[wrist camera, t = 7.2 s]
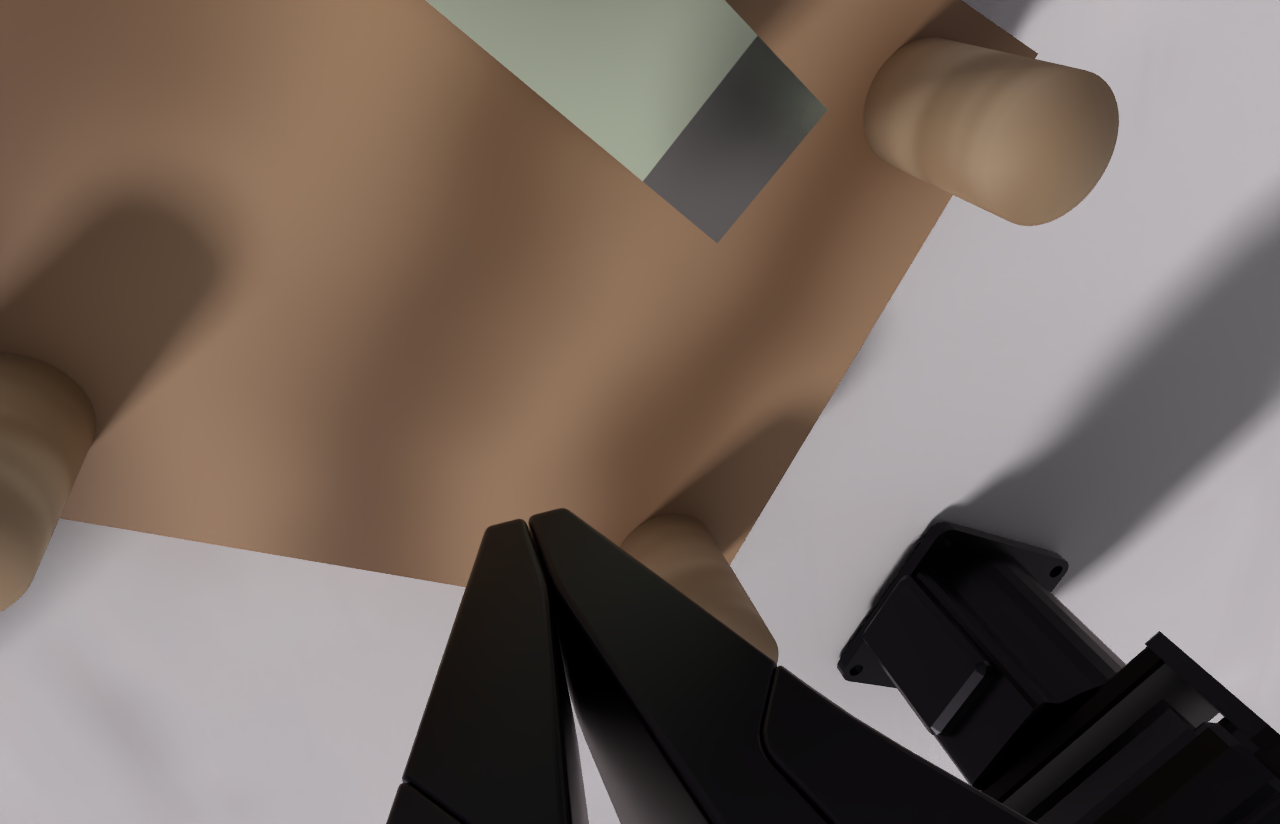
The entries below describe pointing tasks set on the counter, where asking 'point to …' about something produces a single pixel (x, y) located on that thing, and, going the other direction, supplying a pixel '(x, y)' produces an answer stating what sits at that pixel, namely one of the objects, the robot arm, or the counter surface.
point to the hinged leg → (657, 90)
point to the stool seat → (457, 277)
